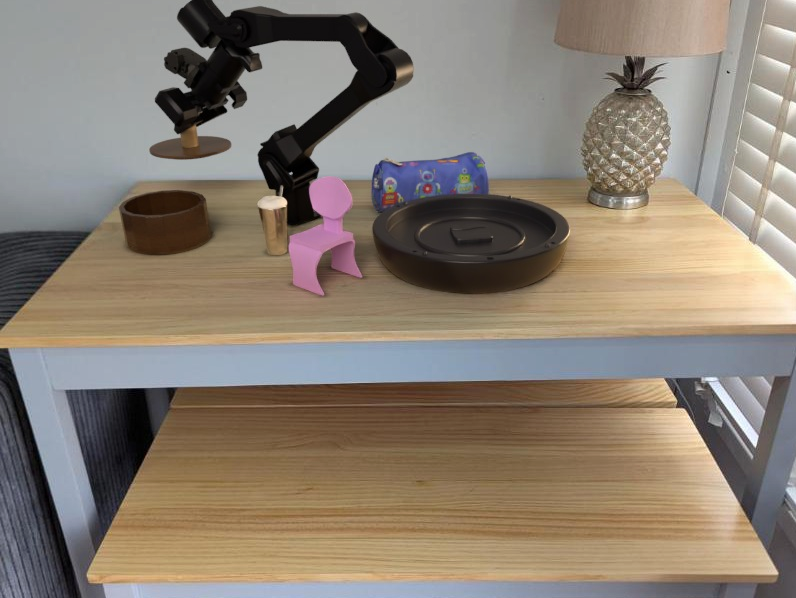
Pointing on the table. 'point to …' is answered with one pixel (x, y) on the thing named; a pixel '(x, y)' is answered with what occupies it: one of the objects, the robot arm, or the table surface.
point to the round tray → (470, 242)
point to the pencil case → (427, 179)
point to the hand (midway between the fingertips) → (182, 130)
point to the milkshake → (274, 222)
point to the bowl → (165, 222)
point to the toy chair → (324, 235)
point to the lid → (190, 146)
